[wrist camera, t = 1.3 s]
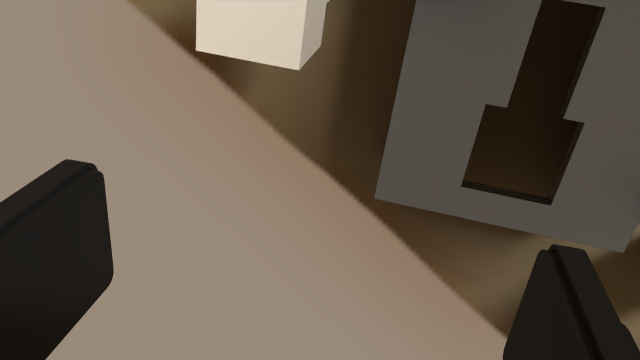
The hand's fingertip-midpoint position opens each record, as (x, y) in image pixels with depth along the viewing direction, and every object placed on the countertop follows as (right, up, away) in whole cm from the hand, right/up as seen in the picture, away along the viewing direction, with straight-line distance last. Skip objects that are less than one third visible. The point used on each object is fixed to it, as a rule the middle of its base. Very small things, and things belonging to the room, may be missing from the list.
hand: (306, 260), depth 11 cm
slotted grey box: (+14, +9, +24) cm, 29 cm away
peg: (0, +15, +24) cm, 28 cm away
